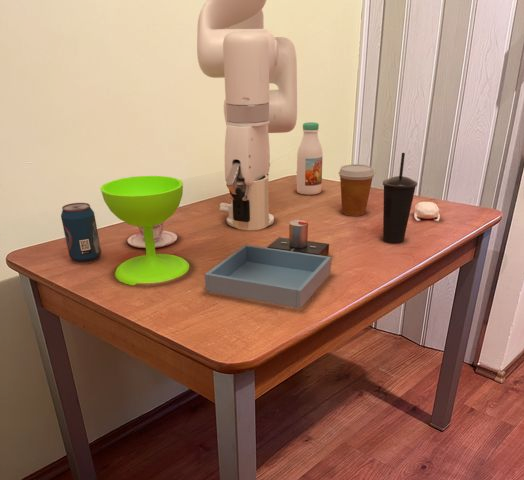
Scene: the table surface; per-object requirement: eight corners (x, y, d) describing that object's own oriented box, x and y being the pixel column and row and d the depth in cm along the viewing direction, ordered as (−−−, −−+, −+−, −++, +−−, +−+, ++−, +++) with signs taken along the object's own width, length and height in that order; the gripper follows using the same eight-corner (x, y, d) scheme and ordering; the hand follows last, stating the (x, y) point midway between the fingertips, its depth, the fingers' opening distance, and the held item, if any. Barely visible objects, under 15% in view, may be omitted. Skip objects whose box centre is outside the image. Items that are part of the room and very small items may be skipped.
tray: (205, 293, 105) (204, 274, 103) (245, 262, 118) (244, 244, 116) (300, 311, 98) (300, 290, 95) (330, 275, 111) (331, 256, 109)
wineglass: (125, 257, 122) (112, 176, 113) (195, 256, 122) (188, 175, 112) (105, 286, 108) (89, 196, 99) (184, 286, 108) (175, 196, 99)
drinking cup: (410, 246, 125) (422, 157, 115) (376, 244, 127) (385, 156, 116) (409, 235, 132) (420, 150, 121) (377, 234, 133) (385, 149, 123)
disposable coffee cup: (376, 210, 150) (380, 166, 143) (362, 219, 143) (366, 173, 137) (345, 206, 154) (348, 162, 148) (330, 214, 147) (332, 169, 141)
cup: (227, 227, 102) (224, 179, 98) (242, 216, 108) (241, 170, 103) (259, 232, 100) (258, 183, 95) (274, 221, 105) (273, 174, 100)
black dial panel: (265, 260, 119) (265, 247, 117) (280, 248, 125) (280, 235, 124) (317, 268, 115) (317, 254, 113) (329, 255, 121) (330, 242, 119)
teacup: (117, 241, 131) (113, 216, 128) (157, 229, 139) (154, 205, 135) (147, 253, 124) (144, 227, 121) (187, 239, 132) (185, 214, 128)
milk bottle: (295, 194, 165) (296, 125, 155) (297, 188, 172) (299, 121, 161) (320, 195, 164) (323, 125, 154) (322, 189, 170) (324, 121, 160)
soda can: (68, 256, 123) (57, 204, 117) (99, 251, 125) (90, 200, 119) (72, 266, 118) (60, 212, 111) (104, 261, 120) (94, 208, 114)
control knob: (286, 246, 118) (286, 223, 115) (293, 240, 121) (293, 217, 118) (303, 249, 116) (304, 225, 113) (309, 243, 119) (310, 219, 117)
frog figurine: (441, 222, 140) (443, 207, 138) (414, 221, 141) (416, 207, 139) (436, 213, 147) (438, 199, 145) (411, 212, 148) (412, 198, 146)
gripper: (250, 106, 101) (252, 200, 111) (204, 120, 88) (211, 226, 97) (287, 108, 99) (286, 204, 108) (245, 123, 85) (248, 231, 95)
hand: (250, 214), depth 103 cm, fingers closed on cup, 6 cm apart
